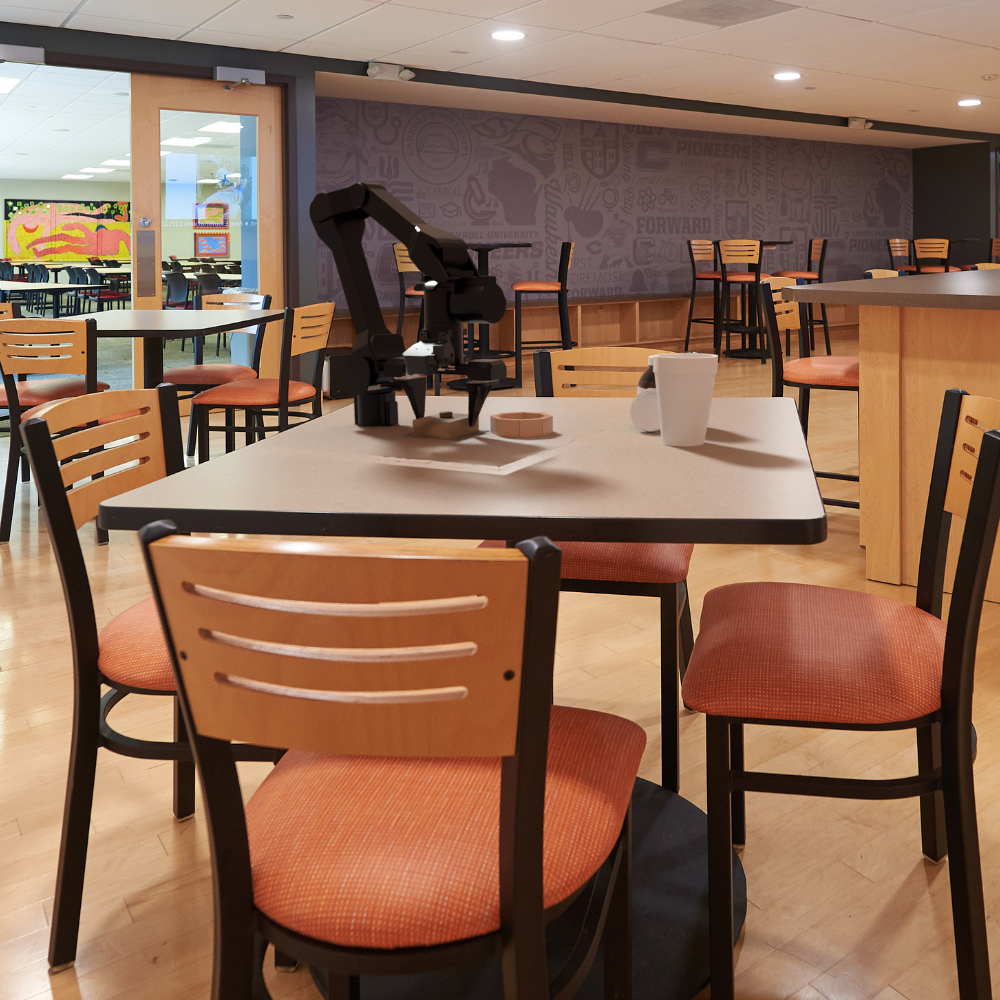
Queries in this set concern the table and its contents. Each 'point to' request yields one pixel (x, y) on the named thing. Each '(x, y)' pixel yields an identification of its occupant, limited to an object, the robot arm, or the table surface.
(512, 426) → the bowl
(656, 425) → the spread jar
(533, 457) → the table surface
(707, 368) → the foam cup
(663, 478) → the table surface
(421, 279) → the robot arm
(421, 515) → the table surface
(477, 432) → the mat
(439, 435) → the lid
